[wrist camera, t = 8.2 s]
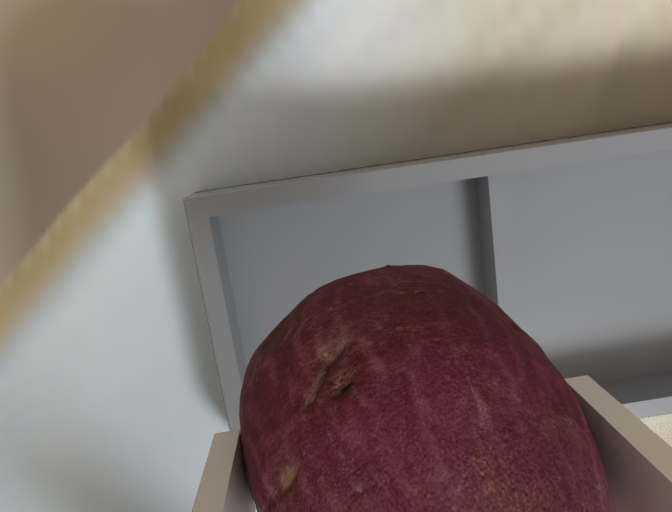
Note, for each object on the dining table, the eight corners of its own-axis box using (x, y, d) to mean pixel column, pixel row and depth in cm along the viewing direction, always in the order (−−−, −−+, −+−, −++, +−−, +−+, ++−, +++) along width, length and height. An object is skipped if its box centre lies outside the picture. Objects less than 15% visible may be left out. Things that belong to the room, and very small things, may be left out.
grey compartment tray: (745, 367, 33) (795, 393, 30) (247, 445, 33) (240, 482, 29) (751, 110, 30) (808, 107, 27) (197, 191, 29) (183, 199, 26)
